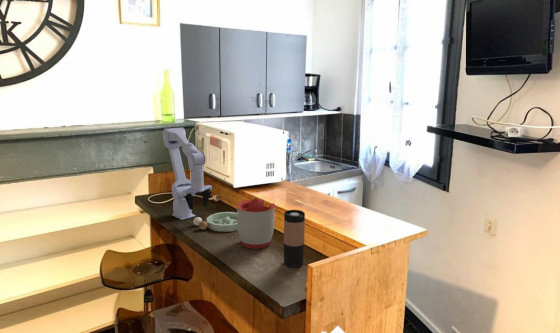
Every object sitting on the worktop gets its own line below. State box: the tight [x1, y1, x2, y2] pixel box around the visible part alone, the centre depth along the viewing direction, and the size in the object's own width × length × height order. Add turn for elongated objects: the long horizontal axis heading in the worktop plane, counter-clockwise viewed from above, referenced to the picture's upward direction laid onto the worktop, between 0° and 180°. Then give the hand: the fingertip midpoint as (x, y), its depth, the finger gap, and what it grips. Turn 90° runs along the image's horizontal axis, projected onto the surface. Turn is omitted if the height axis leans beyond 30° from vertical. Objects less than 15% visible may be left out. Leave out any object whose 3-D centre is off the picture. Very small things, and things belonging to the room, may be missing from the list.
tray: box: [206, 211, 238, 233], centre depth 190 cm, size 18×18×3 cm
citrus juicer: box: [236, 197, 276, 250], centre depth 167 cm, size 16×17×20 cm
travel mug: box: [283, 209, 306, 269], centre depth 149 cm, size 8×8×20 cm
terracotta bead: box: [198, 220, 208, 231], centre depth 183 cm, size 4×4×4 cm
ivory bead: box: [192, 216, 203, 227], centre depth 188 cm, size 4×4×4 cm
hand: (198, 207), depth 186 cm, fingers open, 7 cm apart
